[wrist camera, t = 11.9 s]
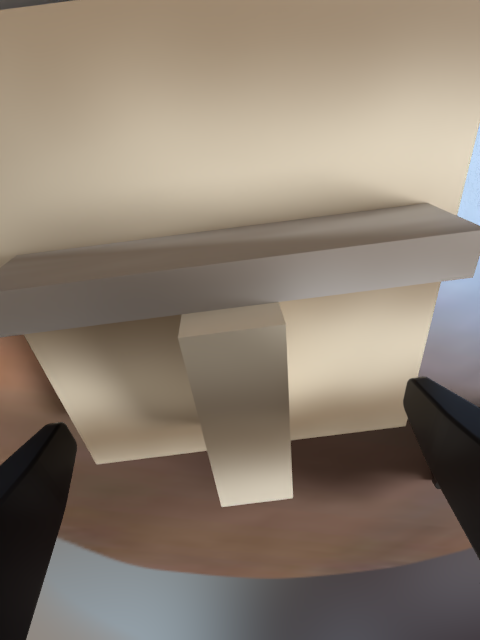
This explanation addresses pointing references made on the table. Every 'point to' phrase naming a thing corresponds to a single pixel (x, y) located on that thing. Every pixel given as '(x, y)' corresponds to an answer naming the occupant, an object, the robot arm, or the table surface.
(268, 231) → the scraper
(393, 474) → the table surface
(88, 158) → the board
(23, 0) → the box
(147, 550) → the table surface
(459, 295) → the table surface
